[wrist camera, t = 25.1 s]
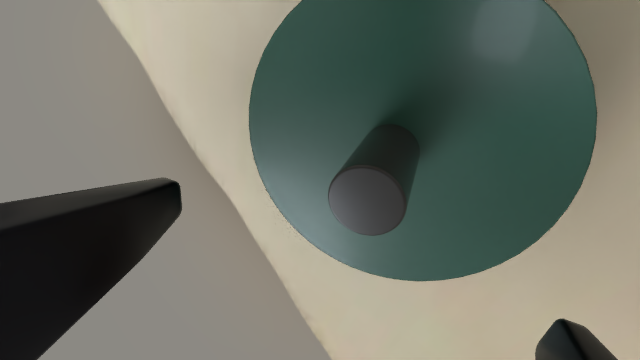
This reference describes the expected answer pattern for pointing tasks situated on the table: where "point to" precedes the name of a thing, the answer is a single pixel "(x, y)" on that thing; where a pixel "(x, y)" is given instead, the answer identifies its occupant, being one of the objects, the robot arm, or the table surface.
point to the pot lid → (422, 130)
